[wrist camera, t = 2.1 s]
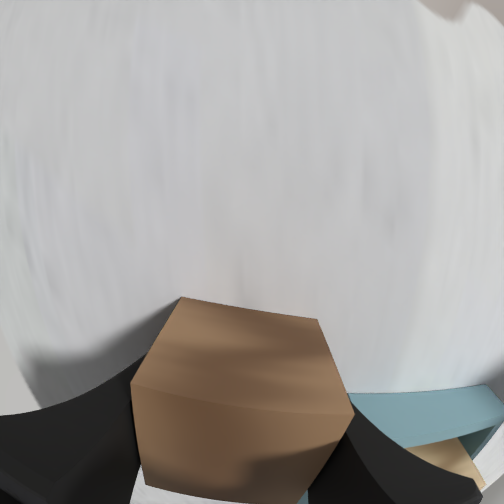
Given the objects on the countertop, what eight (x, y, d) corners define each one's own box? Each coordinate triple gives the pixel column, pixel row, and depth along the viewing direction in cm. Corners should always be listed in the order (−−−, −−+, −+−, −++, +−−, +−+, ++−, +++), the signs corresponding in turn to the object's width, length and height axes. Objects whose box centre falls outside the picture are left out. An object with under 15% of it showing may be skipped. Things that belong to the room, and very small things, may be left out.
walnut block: (316, 319, 10) (354, 414, 5) (286, 413, 12) (295, 504, 7) (181, 296, 10) (129, 382, 5) (175, 396, 11) (145, 484, 7)
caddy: (485, 384, 11) (510, 411, 9) (369, 520, 16) (374, 542, 13) (348, 393, 11) (366, 441, 8) (265, 528, 15) (265, 555, 13)
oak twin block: (450, 426, 11) (486, 484, 6) (410, 475, 12) (432, 529, 7) (381, 437, 11) (412, 514, 6) (344, 486, 12) (359, 550, 7)
